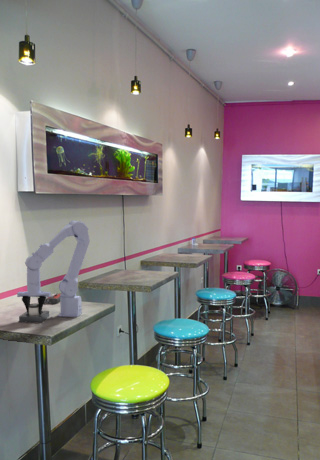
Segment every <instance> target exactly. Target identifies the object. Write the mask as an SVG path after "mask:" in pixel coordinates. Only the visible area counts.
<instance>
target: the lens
mask: <svg viewBox="0 0 320 460" xmlns="http://www.w3.org/2000/svg"><path fill="white" fill-rule="evenodd" d="M28 306H29V316H39V315H40V313H39V305H38V302H37V303H35V302H34V303H30V304H29V305H28Z"/></svg>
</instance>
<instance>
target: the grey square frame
mask: <svg viewBox="0 0 320 460" xmlns="http://www.w3.org/2000/svg"><path fill="white" fill-rule="evenodd" d="M49 317H50V311H49V310H42V312H41V313H40V315H39V316H29V313H27V310H26V311H24V313H22V314H21V315H20V316H19V317H18V322H19V323H31V324H32V323H34V324H37V323H43V322H44V321H45V320H46V319H48V318H49Z"/></svg>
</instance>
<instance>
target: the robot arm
mask: <svg viewBox="0 0 320 460" xmlns="http://www.w3.org/2000/svg"><path fill="white" fill-rule="evenodd" d="M73 236H74V238H75V240H76V241H77V243H76V245H75V248H74V251H73V254H72V257H71V260H70V262H69V265H68V269H67V272H66V274H64V277H63V278H62V280H61V281H60V283H59V284H58V290H59V292H61V294H60V302H59V304H60V309H59V310H60V312H59V313H58V314H57V317H66V318H69V317H71V318H72V317H73V318H78V317H79V316H80V315H81V314H82V313H83V310H82V306H83V305H82V304H83V303H82V297H81V295H77V293H78V283H79V279H78V277H79V274H80V271H81V268H82V265H83V262H84V259H85V256H86V253H87V250H88V248H89V245H90V235H89V228H88V226H87V225H86V223H85V222H84V221H80V220H73V219H72V220H71V221H69V222H68V223H67V224H66V225H64V226H63V228H61V229H60V231H59V232H58V233H56V235H55V236H54V237H53V238H52V239H51V240H50V241H49V242H48V243H43V244H40V245H39V248H38V249H37V250H36V251H35V252H32V253H31V255H30V256H29V255H28V257H27V258H26V259H25V261H24V263H25V266H26V291H18V292H17V293H16V297H17V298H20V297H21V301H22V302H23V305H24V306H25V309H26V311H27V313H29V306H28V305H29V304H31V298H35V297H37V303H38V305H39V313H41V312H42V311H43V307H44V301H45V299H46V297H50V296H51V294H52V293H51V292H52V291H44V290H43V291H42V289H41V267H42V263H44V262H45V261H46V260H47V259H48V258H49V257H50V256H52V254H53V253H54V249H55V248H56V247H57V246H58V245H60V243H62V242H63V241H64V240H65V239H66V238H69V237H73Z"/></svg>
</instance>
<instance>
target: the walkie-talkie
mask: <svg viewBox="0 0 320 460" xmlns="http://www.w3.org/2000/svg"><path fill="white" fill-rule="evenodd" d="M60 294H61V293H59V292H54V293H51V296H50V297H46V299H45V301H44V304H45V305H47V304H48V305H49V304H50V305H58V304H60ZM44 304H43V305H44Z"/></svg>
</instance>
